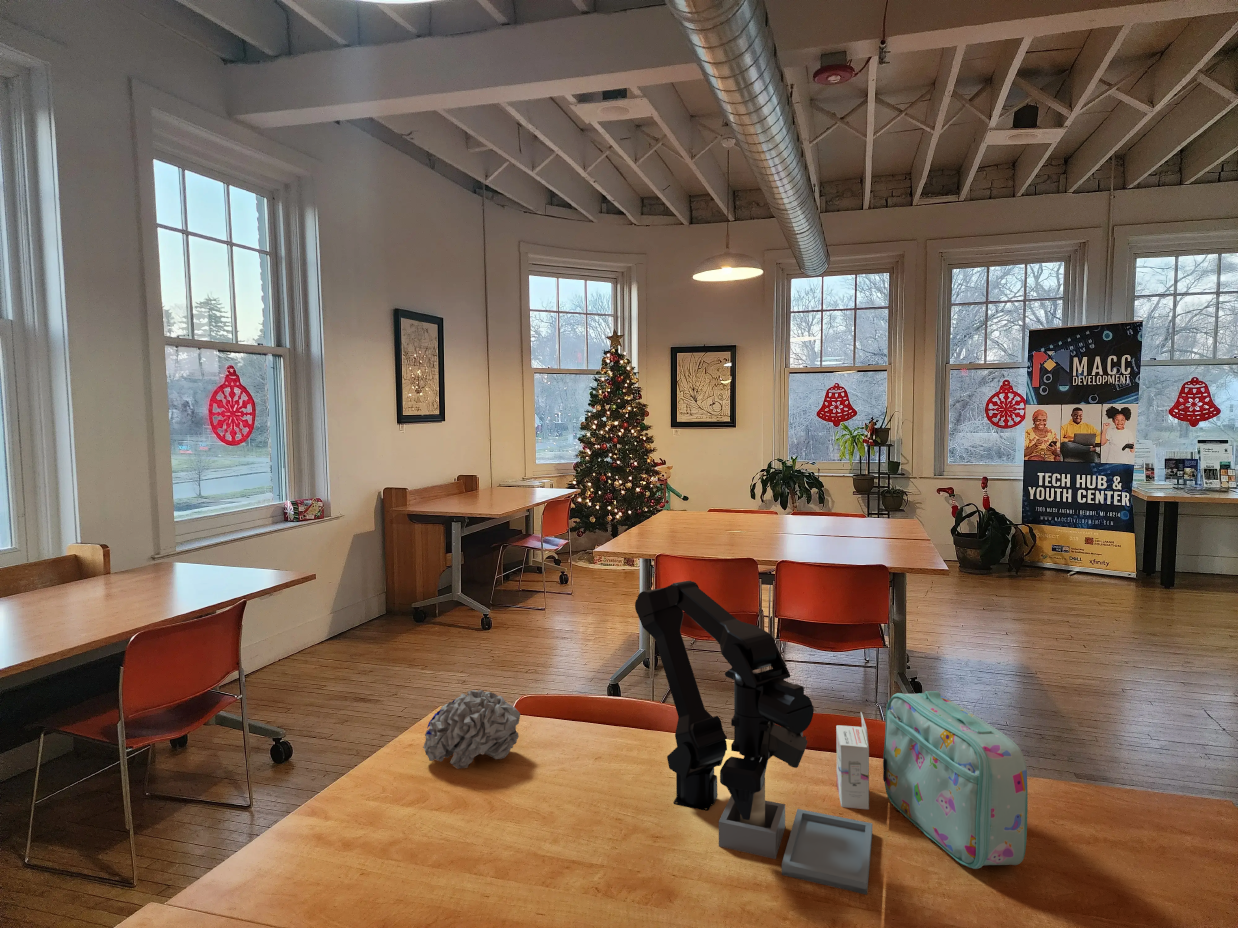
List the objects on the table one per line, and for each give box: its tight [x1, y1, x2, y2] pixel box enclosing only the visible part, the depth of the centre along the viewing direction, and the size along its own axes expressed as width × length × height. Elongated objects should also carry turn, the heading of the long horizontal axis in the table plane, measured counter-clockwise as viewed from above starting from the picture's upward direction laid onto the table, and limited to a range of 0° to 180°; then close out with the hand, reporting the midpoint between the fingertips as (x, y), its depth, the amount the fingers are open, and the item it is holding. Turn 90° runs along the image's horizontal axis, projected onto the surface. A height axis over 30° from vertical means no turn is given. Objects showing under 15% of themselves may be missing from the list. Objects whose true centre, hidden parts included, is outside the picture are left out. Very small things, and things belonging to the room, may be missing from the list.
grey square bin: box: [718, 795, 786, 860], centre depth 113 cm, size 9×9×4 cm
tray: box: [781, 808, 873, 896], centre depth 109 cm, size 12×16×2 cm
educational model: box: [422, 689, 521, 770], centre depth 142 cm, size 14×20×15 cm
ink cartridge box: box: [835, 711, 870, 810], centre depth 125 cm, size 9×5×15 cm, turn 168°
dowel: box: [740, 777, 766, 828], centre depth 113 cm, size 4×4×10 cm
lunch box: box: [882, 690, 1029, 870], centre depth 115 cm, size 27×10×21 cm, turn 12°
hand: (752, 804), depth 113 cm, fingers open, 9 cm apart
